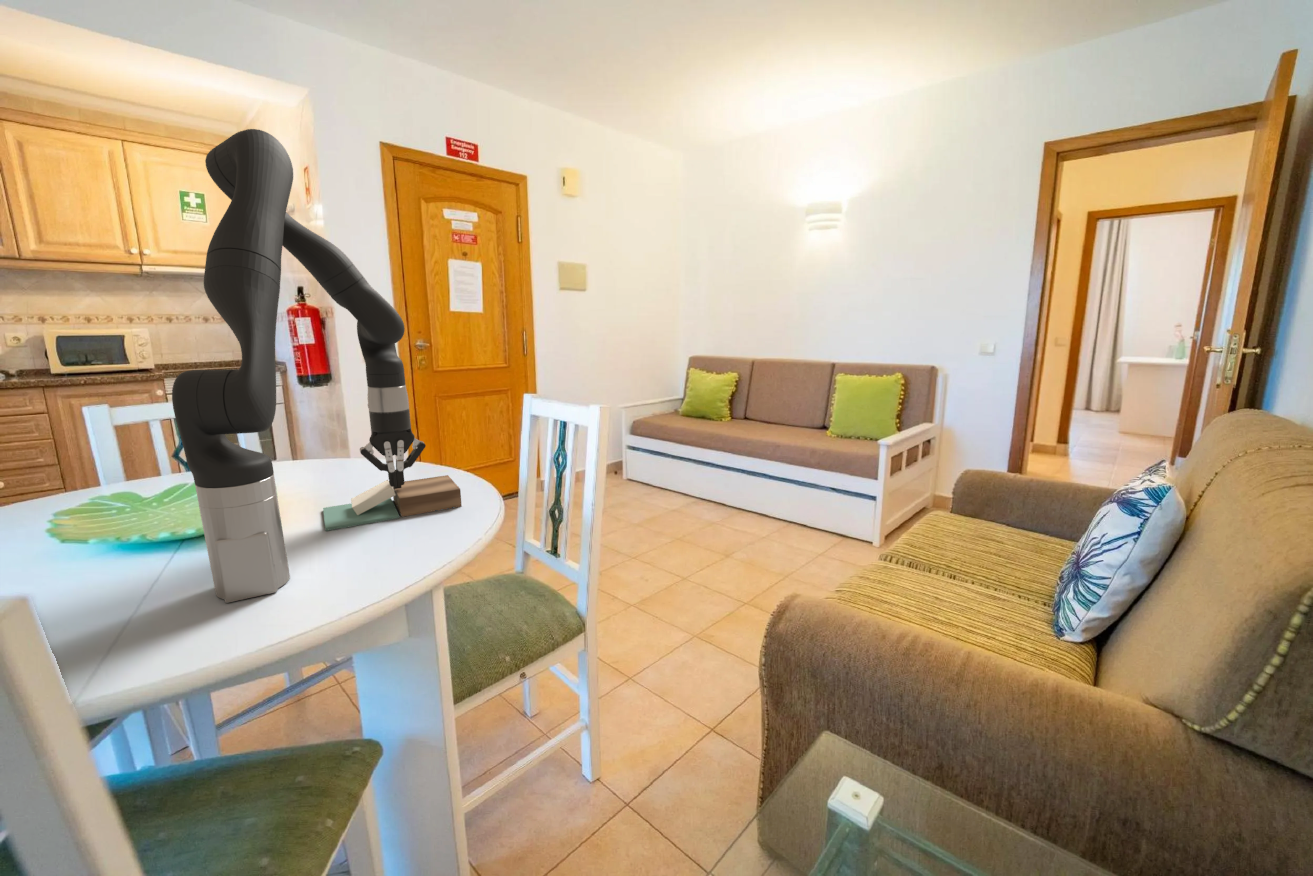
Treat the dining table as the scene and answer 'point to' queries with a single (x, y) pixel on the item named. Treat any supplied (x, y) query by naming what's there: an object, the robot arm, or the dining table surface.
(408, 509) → the block
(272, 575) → the robot arm
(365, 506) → the cream flat block
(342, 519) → the mat
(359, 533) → the dining table surface
